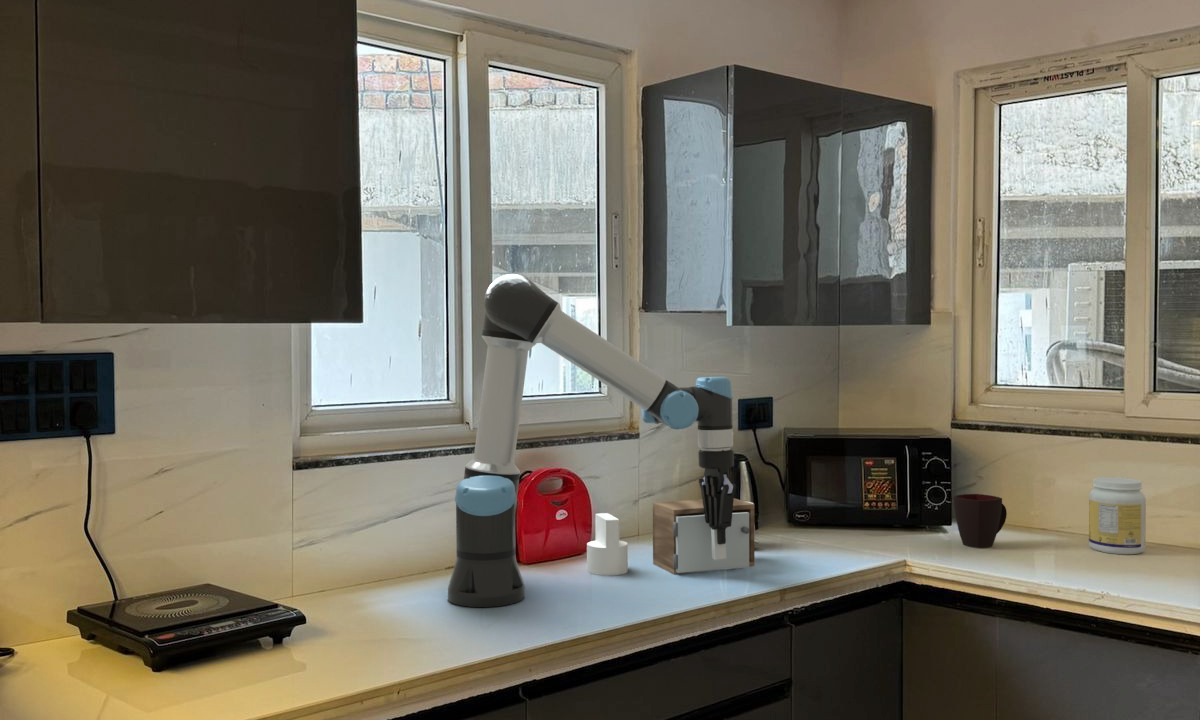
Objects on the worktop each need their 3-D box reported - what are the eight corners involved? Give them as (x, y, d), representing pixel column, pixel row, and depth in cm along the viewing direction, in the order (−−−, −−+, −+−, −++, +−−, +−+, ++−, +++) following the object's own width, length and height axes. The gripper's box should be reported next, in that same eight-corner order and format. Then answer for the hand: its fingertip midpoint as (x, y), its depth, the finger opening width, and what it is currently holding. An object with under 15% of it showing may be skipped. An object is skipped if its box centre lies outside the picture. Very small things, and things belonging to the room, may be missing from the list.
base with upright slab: (633, 573, 219) (632, 518, 219) (593, 576, 216) (593, 521, 216) (620, 565, 228) (620, 512, 227) (582, 567, 225) (582, 514, 225)
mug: (947, 544, 249) (947, 495, 249) (987, 538, 255) (987, 491, 255) (979, 551, 240) (979, 501, 240) (1019, 545, 246) (1019, 497, 246)
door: (677, 574, 215) (677, 518, 215) (672, 572, 218) (672, 516, 217) (752, 568, 221) (752, 514, 220) (746, 565, 223) (746, 512, 223)
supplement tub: (1098, 542, 250) (1098, 475, 249) (1152, 549, 241) (1152, 479, 241) (1081, 550, 241) (1081, 480, 241) (1136, 557, 232) (1136, 485, 232)
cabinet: (674, 574, 218) (673, 510, 218) (653, 563, 228) (652, 502, 228) (754, 566, 225) (754, 504, 225) (730, 556, 236) (730, 497, 235)
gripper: (746, 450, 210) (749, 562, 210) (717, 445, 222) (720, 551, 223) (714, 452, 208) (717, 566, 208) (686, 447, 220) (690, 554, 220)
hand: (719, 558), depth 215 cm, fingers closed
